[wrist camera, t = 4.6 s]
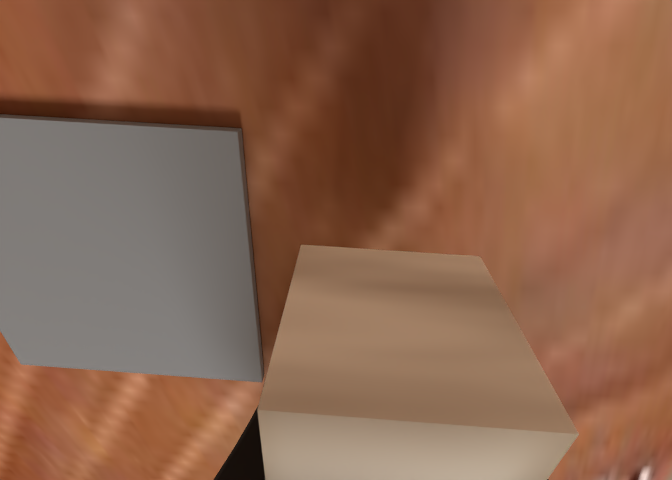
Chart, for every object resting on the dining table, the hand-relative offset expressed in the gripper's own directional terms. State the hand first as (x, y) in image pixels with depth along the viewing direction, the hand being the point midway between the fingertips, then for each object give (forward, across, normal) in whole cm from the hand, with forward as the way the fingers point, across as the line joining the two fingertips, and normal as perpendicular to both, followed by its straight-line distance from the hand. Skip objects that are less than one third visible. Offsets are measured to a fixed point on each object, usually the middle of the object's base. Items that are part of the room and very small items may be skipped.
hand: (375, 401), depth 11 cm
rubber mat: (+8, +14, +2) cm, 16 cm away
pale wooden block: (+2, 0, 0) cm, 2 cm away
